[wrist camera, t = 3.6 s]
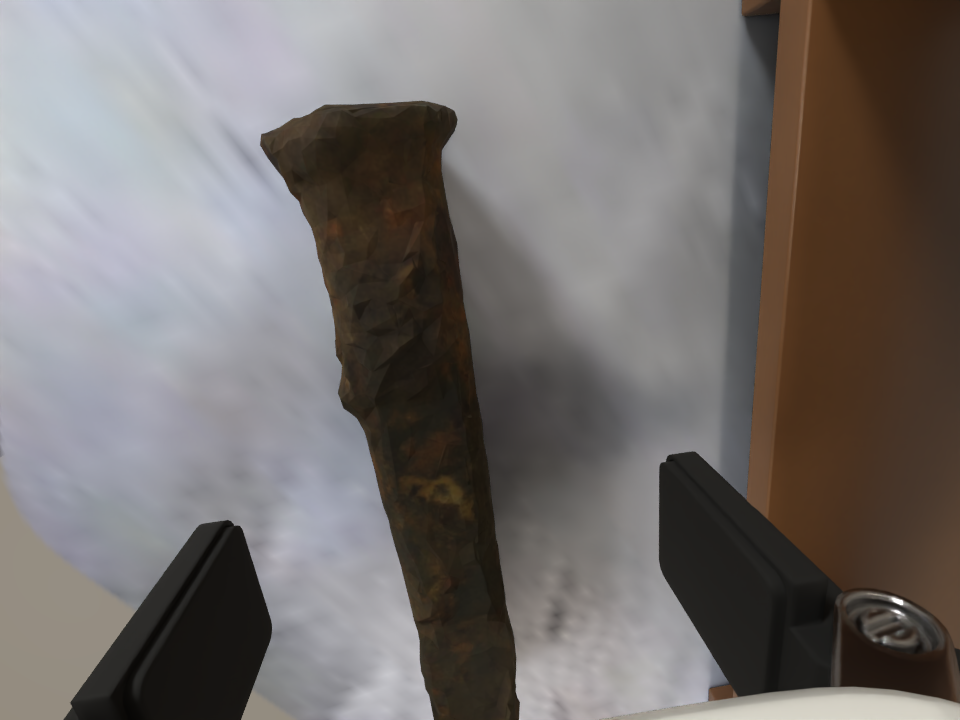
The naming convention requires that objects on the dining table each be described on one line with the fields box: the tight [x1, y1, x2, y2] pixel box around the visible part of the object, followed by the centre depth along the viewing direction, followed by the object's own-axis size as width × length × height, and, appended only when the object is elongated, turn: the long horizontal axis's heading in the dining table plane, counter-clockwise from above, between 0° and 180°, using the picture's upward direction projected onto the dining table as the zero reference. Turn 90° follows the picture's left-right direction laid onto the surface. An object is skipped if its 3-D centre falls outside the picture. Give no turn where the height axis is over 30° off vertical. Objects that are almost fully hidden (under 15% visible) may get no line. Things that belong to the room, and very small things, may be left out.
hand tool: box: [260, 101, 520, 720], centre depth 13 cm, size 19×4×5 cm, turn 6°
